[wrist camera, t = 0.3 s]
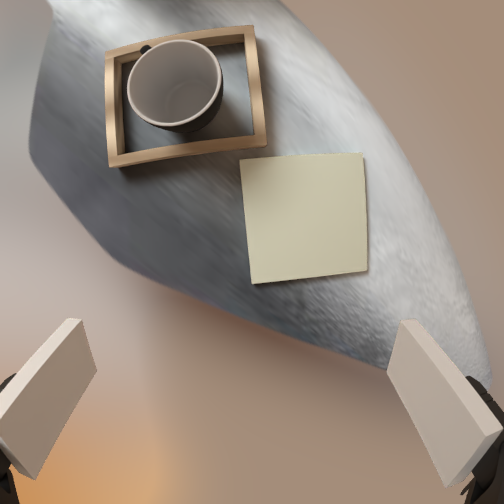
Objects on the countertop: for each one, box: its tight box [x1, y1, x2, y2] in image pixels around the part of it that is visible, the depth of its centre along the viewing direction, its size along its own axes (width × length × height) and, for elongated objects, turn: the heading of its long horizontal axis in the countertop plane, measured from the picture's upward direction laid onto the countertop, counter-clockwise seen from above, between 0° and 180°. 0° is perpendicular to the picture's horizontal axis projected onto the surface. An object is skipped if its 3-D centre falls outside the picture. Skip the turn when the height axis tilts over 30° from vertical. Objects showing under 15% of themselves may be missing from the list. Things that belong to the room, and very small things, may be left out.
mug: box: [127, 40, 223, 132], centre depth 28 cm, size 12×9×10 cm
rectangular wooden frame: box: [105, 25, 267, 168], centre depth 32 cm, size 15×18×3 cm
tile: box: [239, 153, 367, 284], centre depth 37 cm, size 15×15×1 cm
